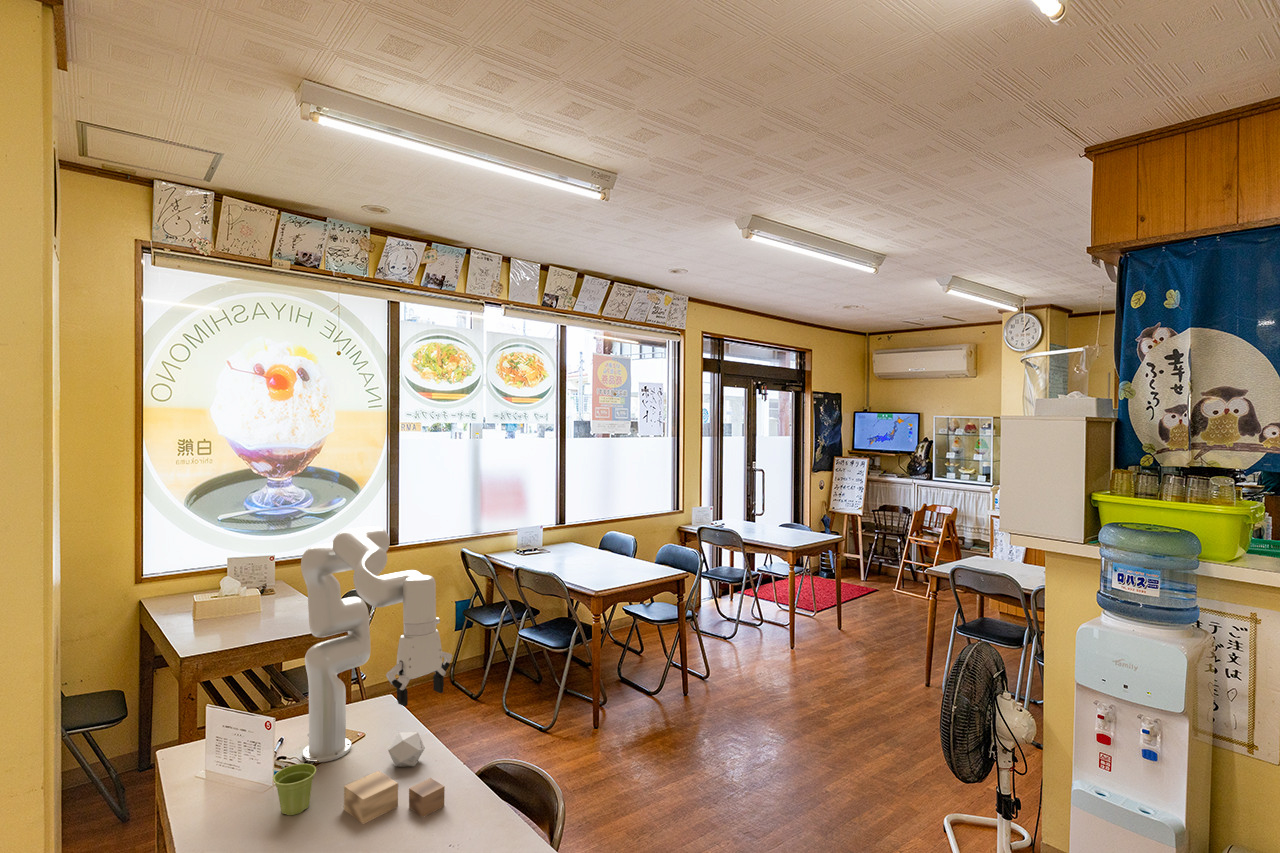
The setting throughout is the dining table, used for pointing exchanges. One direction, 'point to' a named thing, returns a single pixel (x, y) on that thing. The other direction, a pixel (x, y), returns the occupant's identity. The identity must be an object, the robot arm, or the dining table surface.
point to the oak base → (370, 796)
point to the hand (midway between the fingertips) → (421, 698)
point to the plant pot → (294, 787)
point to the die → (406, 749)
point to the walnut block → (426, 797)
